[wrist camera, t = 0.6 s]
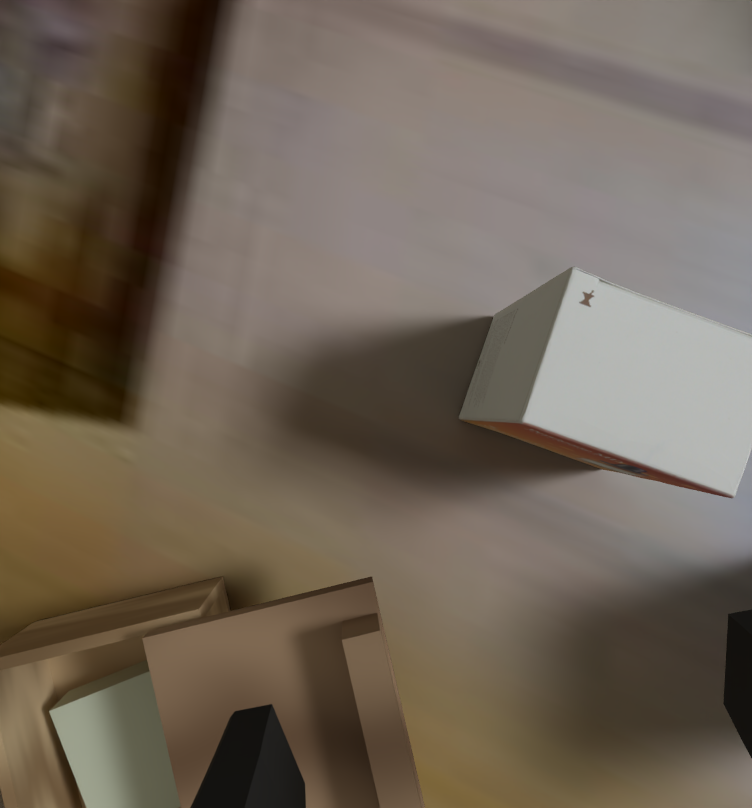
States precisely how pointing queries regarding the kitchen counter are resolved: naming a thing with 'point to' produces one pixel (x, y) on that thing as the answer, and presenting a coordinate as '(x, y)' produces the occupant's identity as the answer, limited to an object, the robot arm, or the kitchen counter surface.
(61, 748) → the carton
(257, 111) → the kitchen counter surface
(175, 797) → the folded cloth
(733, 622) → the robot arm
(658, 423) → the small box
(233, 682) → the lid
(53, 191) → the kitchen counter surface
